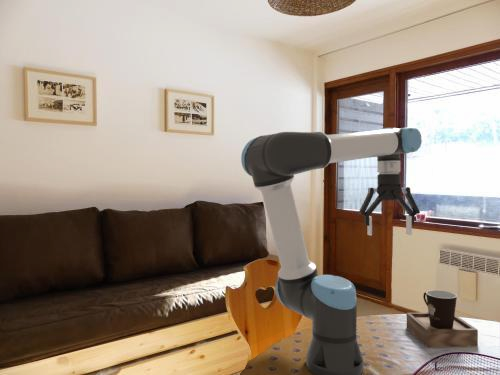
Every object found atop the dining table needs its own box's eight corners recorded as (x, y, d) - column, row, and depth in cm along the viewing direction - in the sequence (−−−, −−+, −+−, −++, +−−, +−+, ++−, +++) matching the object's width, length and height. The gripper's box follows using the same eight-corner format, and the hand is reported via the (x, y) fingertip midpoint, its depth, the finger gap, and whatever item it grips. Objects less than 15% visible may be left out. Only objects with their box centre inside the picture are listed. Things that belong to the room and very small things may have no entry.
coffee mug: (460, 332, 114) (460, 299, 114) (430, 330, 116) (429, 297, 116) (449, 318, 126) (449, 288, 126) (421, 316, 128) (421, 286, 127)
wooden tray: (427, 347, 114) (427, 330, 114) (406, 327, 129) (406, 312, 129) (477, 346, 114) (477, 329, 114) (451, 326, 129) (451, 312, 129)
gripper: (355, 173, 128) (356, 237, 129) (430, 172, 128) (430, 235, 129) (349, 174, 136) (350, 233, 136) (420, 173, 136) (420, 232, 136)
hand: (389, 234), depth 132 cm, fingers open, 13 cm apart
